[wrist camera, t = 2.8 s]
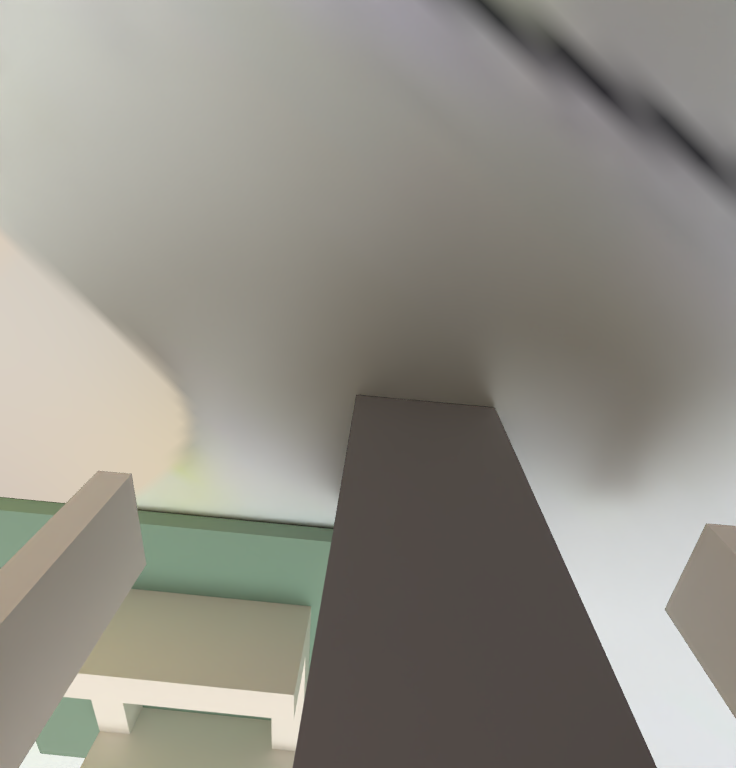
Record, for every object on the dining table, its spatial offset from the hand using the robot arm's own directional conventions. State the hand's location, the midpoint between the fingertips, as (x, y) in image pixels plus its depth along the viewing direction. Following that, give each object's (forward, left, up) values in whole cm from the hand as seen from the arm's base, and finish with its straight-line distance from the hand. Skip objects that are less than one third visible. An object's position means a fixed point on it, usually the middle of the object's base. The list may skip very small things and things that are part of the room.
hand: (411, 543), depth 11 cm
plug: (0, 0, -4) cm, 4 cm away
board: (+7, +10, -4) cm, 13 cm away
